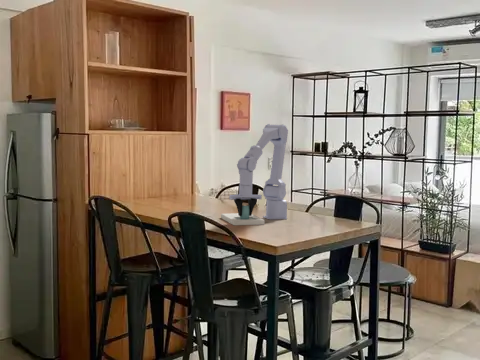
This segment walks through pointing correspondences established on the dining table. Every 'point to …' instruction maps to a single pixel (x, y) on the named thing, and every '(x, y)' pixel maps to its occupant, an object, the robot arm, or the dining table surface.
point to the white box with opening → (236, 220)
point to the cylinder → (245, 212)
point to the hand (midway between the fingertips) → (244, 215)
